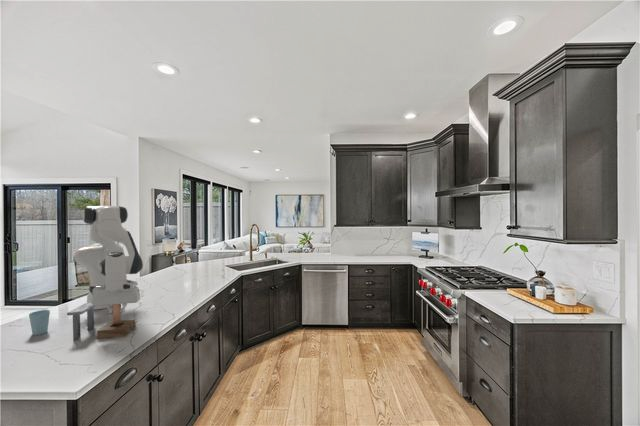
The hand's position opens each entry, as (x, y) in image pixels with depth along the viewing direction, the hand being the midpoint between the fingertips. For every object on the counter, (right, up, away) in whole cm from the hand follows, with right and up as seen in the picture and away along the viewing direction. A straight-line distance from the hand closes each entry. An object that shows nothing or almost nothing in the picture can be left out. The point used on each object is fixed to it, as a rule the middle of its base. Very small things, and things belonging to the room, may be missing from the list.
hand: (117, 312), depth 147 cm
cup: (-40, -11, +2) cm, 42 cm away
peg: (0, -5, 0) cm, 5 cm away
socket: (0, -10, 0) cm, 10 cm away
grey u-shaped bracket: (-16, -10, 0) cm, 19 cm away
